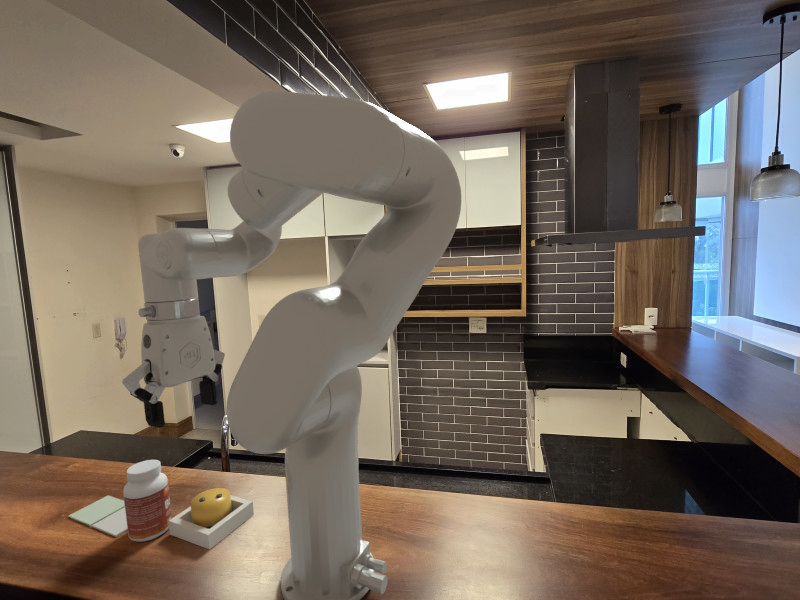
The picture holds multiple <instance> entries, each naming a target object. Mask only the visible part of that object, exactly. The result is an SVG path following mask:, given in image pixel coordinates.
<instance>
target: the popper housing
mask: <svg viewBox="0 0 800 600" xmlns="http://www.w3.org/2000/svg"><path fill="white" fill-rule="evenodd" d="M231 506H232V512H231V513H230V514H229V515H228V516H226V517H225V518H224V519H222V520H221V521H220V522H218V523H217V524H215V525H214V526H210V528H208V527H202V526H199V525H196V524H193V523H192V514H191V505H190V506H188V508H186V509H184V510H183V511H181V512H180V513H178V514H176V515H175V516H174V517H172V519H170V520H169V529H168V530H169V535H171V536H173V537H176V538H179V539H181V540H183V541H186V542H189V543H191V544H193V545H197V546H198V547H202V548H205V549H207V550H211V549H213V548H214V547H215V546H217V544H219V543H220V542H221V541H222V540H224V539H225V538H226V537H228V536H229V535H230V534H231V533H232V532H234V531H235V530H236V529H238V528H239V527H240V526H241V525H242V524H244V523H246V521H248V520H249V519H250V518H252V517H253V516H254V513H255V512H254V501H253V500H248V499H245V498H242V497H239V496H235V495H232V494H231Z"/></svg>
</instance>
